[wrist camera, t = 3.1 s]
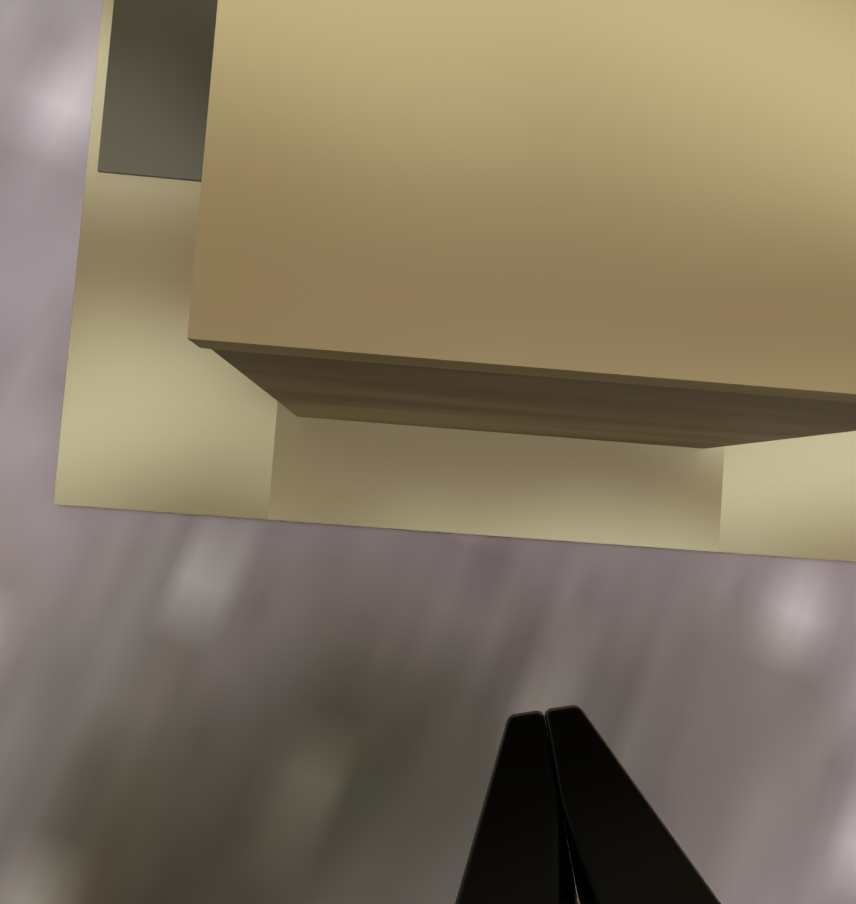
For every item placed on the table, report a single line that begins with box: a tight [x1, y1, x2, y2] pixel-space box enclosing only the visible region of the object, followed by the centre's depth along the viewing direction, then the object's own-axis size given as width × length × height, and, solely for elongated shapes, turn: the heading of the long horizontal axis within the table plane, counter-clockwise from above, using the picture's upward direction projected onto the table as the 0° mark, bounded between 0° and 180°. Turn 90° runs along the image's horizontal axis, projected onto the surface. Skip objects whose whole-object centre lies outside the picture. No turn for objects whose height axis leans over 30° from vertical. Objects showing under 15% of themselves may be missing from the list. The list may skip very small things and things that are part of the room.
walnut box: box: [187, 0, 856, 449], centre depth 14 cm, size 14×10×10 cm
